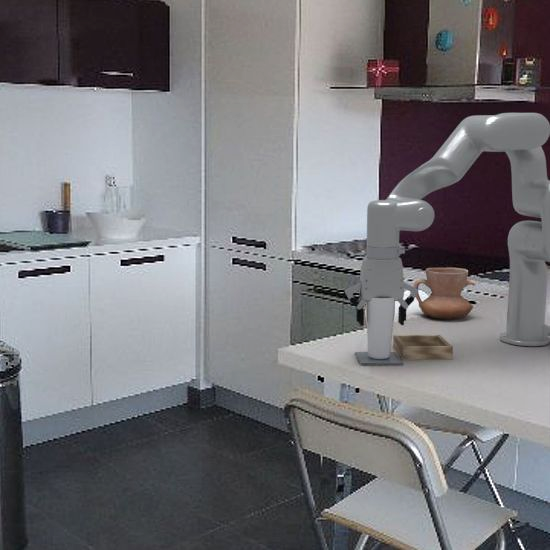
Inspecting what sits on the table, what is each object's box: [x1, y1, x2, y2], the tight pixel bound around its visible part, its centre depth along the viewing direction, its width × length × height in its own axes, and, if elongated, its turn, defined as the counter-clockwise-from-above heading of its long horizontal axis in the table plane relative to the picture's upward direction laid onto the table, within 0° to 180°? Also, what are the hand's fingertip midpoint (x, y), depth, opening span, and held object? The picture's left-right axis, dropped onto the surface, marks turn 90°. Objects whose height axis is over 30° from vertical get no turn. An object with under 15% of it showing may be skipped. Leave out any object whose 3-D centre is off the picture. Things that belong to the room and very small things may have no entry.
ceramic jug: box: [413, 267, 477, 321], centre depth 249 cm, size 18×14×14 cm
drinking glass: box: [365, 298, 396, 359], centre depth 201 cm, size 7×7×15 cm
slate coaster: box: [354, 351, 405, 367], centre depth 203 cm, size 10×10×1 cm
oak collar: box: [392, 334, 454, 360], centre depth 209 cm, size 12×12×3 cm
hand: (381, 324), depth 201 cm, fingers open, 9 cm apart
